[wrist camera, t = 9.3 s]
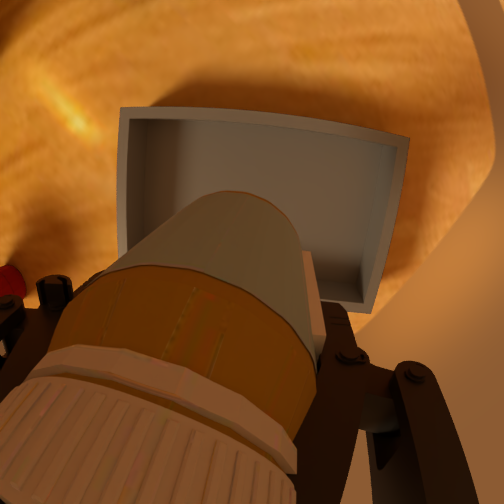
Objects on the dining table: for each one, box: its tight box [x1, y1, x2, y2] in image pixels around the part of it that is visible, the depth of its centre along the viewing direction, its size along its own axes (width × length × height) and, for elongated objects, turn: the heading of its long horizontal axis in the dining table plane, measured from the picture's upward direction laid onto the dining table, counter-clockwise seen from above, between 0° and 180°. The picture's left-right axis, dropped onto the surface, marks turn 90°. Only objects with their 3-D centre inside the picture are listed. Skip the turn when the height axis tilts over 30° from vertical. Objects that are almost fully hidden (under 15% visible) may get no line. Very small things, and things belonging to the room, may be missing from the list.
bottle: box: [0, 190, 318, 504], centre depth 10 cm, size 7×7×15 cm
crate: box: [117, 107, 410, 314], centre depth 28 cm, size 16×24×5 cm, turn 84°
